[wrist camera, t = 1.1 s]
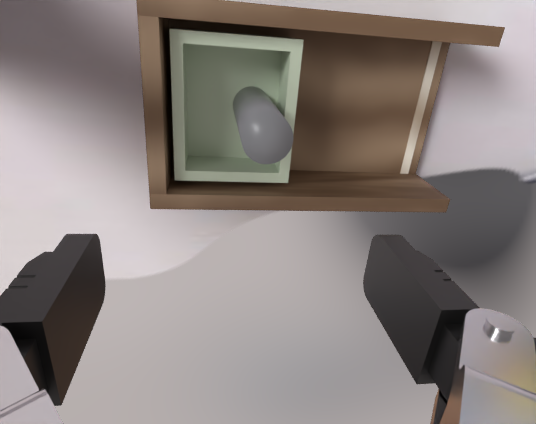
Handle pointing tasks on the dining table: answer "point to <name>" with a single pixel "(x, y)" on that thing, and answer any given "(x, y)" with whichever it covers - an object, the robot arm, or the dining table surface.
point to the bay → (315, 106)
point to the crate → (233, 105)
